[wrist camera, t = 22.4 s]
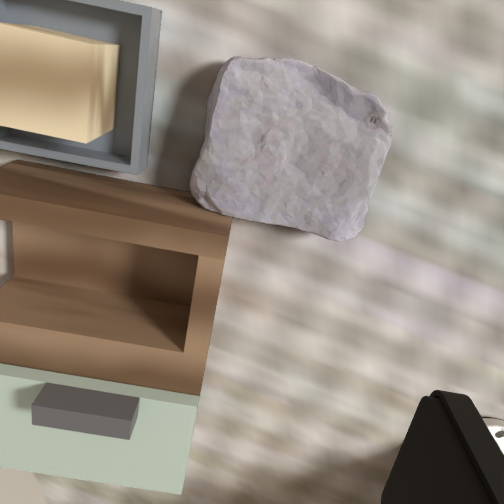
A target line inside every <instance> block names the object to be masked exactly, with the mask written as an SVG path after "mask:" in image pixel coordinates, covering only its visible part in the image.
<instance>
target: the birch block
mask: <svg viewBox="0 0 504 504" xmlns="http://www.w3.org/2000/svg"><path fill="white" fill-rule="evenodd" d="M120 50H121V45H119V44H114V43H110V42H105V41H101V40H96V39H92V38H87V37H83V36H79V35H74V34H70V33H65V32H61V31H56V30H52V29H48V28H43V27H39V26H31V25H21V24H11V23H1V22H0V126H5V127H10V128H15V129H19V130H24V131H29V132H34V133H38V134H43V135H48V136H53V137H57V138H62V139H67V140H72V141H76V142H81V143H86V144H87V143H88V142H90V141H92V140H94V139H96V138H98V137H100V136H102V135H103V134H105V133H107V132H109V131H111V130H113V129H114V127H115V114H116V101H117V88H118V76H119V63H120Z"/></svg>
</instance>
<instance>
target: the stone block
mask: <svg viewBox="0 0 504 504" xmlns="http://www.w3.org/2000/svg"><path fill="white" fill-rule="evenodd" d="M206 109H207V112H206V125H205V141H204V143H203V146H202V148H201V151H200V156H199V158H198V159H197V162H196V165H195V167H194V168H193V171H192V175H191V179H190V184H189V185H190V190H191V193H192V195H193V197H194V198H195V199H196V201H197V203H199V204H200V205H201V206H202V207H203V208H204V209H208V210H211V211H215V212H217V213H220V214H223V215H226V216H230V217H235V218H240V219H245V220H249V221H254V222H260V223H266V224H275V225H283V226H288V227H293V228H297V229H300V230H303V231H307V232H312V233H314V234H316V235H319V236H321V237H324V238H326V239H329V240H334V241H340V242H342V241H345V240H349V239H352V238H353V237H355V236H356V235H357V234H358V233H359V232H360V231H361V229H362V228H363V225H364V223H365V220H364V218H365V215H366V213H367V210H368V203H369V201H370V198H371V195H372V193H373V190H374V187H375V185H376V182H377V179H378V176H379V174H380V172H381V170H382V166H383V163H384V160H385V157H386V154H387V152H388V149H389V147H390V144H391V138H392V126H391V125H390V124H389V123H388V120H389V112H388V110H387V108H386V107H385V106H384V105H383V103H382V102H381V101H380V99H379V97H377V96H375V95H374V94H371V93H369V92H366V91H361V90H359V89H357V88H355V87H353V86H351V85H349V84H347V83H346V82H344V81H343V80H342V79H341V78H339V77H337V76H334V75H332V74H330V73H328V72H326V71H325V70H322V69H320V68H318V67H316V66H312V65H310V64H308V63H306V62H303V61H301V60H298V59H294V58H289V59H271V58H261V59H251V58H243V57H238V56H237V57H233V58H230V59H229V60H227V62H226V63H225V64H224V65H223V66H222V67H221V68H220V70H219V72H218V76H217V79H216V81H215V83H214V86H213V90H212V92H211V94H210V95H209V98H208V102H207V105H206Z"/></svg>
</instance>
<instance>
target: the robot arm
mask: <svg viewBox="0 0 504 504" xmlns="http://www.w3.org/2000/svg"><path fill="white" fill-rule="evenodd" d="M381 504H504V420H499V419H491V418H482V417H481V415H480V414H479V412H478V410H477V409H476V407H475V405H474V404H473V402H472V400H471V399H470V398H469V397H468V396H467V395H464V394H458V393H452V392H446V391H440V390H435V391H433V392H432V393H431V395H430V396H424V397H423V398H422V399H421V401H420V403H419V405H418V407H417V410H416V412H415V415H414V417H413V420H412V422H411V425H410V427H409V429H408V432H407V434H406V437H405V439H404V442H403V444H402V446H401V449H400V451H399V454H398V456H397V459H396V461H395V463H394V466H393V468H392V471H391V473H390V476H389V478H388V480H387V483H386V485H385V488H384V490H383V493H382V498H381Z"/></svg>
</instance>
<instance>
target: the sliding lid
mask: <svg viewBox="0 0 504 504" xmlns="http://www.w3.org/2000/svg"><path fill="white" fill-rule="evenodd" d="M198 402H199V396H195V395H189V394H183V393H177V392H171V391H165V390H159V389H153V388H147V387H141V386H135V385H129V384H123V383H117V382H111V381H105V380H99V379H93V378H86V377H80V376H74V375H68V374H62V373H56V372H50V371H44V370H38V369H32V368H26V367H20V366H14V365H8V364H2V363H0V467H2V468H9V469H15V470H22V471H28V472H35V473H41V474H48V475H54V476H61V477H67V478H74V479H80V480H87V481H94V482H100V483H107V484H113V485H120V486H126V487H133V488H139V489H146V490H153V491H159V492H166V493H172V494H179V495H181V494H182V489H183V483H184V478H185V473H186V467H187V462H188V456H189V451H190V445H191V440H192V434H193V429H194V423H195V418H196V413H197V407H198Z"/></svg>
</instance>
